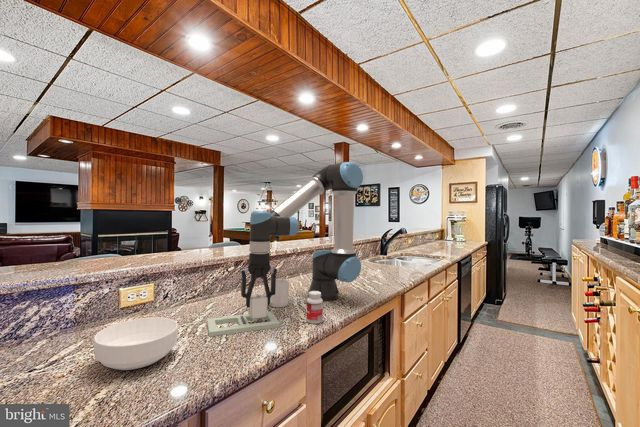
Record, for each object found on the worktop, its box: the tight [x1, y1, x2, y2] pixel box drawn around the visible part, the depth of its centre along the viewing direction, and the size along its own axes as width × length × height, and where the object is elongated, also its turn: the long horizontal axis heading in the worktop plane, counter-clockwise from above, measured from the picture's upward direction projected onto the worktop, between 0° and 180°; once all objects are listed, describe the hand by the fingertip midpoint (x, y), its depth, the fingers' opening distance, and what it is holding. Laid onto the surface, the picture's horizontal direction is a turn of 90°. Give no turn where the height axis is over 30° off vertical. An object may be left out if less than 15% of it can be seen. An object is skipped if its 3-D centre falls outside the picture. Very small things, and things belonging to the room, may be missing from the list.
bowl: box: [93, 316, 179, 371], centre depth 82 cm, size 20×20×8 cm
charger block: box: [251, 293, 267, 319], centre depth 111 cm, size 5×5×7 cm
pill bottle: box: [305, 291, 324, 325], centre depth 114 cm, size 6×6×11 cm
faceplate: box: [206, 311, 281, 338], centre depth 109 cm, size 24×13×2 cm, turn 114°
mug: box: [264, 278, 290, 308], centre depth 132 cm, size 9×12×11 cm
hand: (257, 314), depth 111 cm, fingers closed on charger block, 5 cm apart
